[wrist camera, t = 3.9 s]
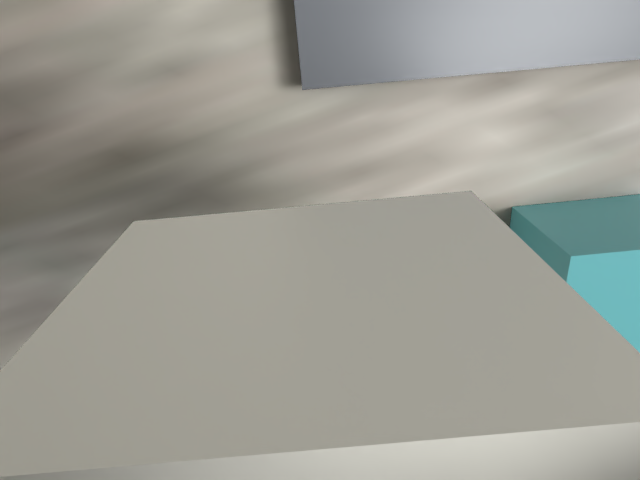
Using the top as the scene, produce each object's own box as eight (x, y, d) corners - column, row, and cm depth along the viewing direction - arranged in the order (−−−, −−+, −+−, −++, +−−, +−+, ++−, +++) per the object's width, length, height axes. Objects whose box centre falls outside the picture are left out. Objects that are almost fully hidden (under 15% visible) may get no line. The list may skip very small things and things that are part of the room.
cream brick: (454, 431, 10) (570, 742, 6) (201, 453, 10) (122, 778, 6) (471, 190, 8) (705, 415, 3) (133, 221, 8) (-104, 486, 3)
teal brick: (616, 303, 22) (694, 370, 18) (499, 313, 23) (548, 384, 18) (642, 192, 20) (741, 240, 15) (511, 205, 20) (571, 256, 15)
